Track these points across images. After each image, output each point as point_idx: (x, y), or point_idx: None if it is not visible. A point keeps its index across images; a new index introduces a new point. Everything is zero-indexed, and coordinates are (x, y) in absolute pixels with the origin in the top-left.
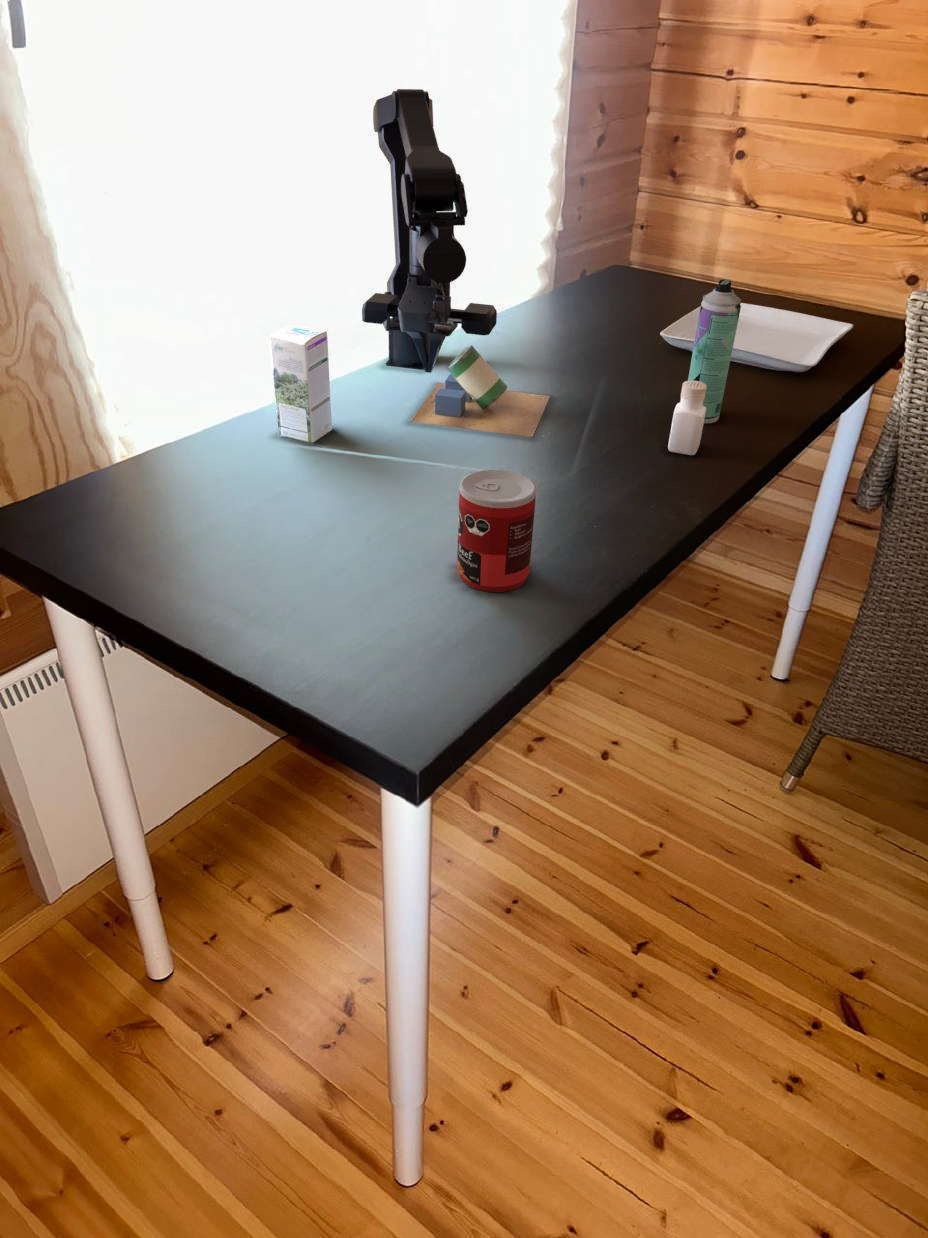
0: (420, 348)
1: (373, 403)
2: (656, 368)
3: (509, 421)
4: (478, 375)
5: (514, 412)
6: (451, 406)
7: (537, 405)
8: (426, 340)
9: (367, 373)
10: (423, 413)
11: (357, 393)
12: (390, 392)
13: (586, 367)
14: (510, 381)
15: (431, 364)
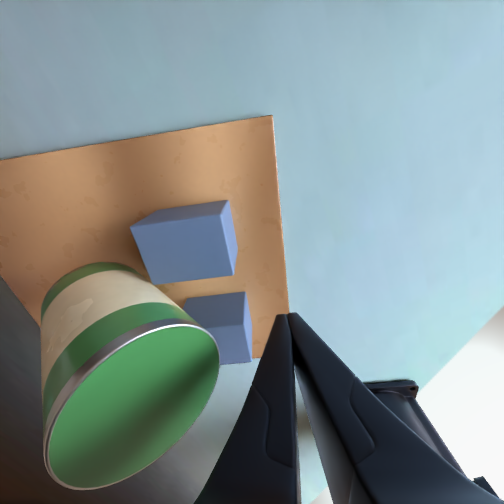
0: (350, 395)
1: (411, 211)
2: (40, 479)
3: (44, 239)
4: (59, 321)
5: None
6: (172, 212)
7: None
8: (337, 472)
9: (447, 347)
10: (258, 191)
11: (461, 251)
12: (380, 286)
13: None
14: None
15: (274, 335)
